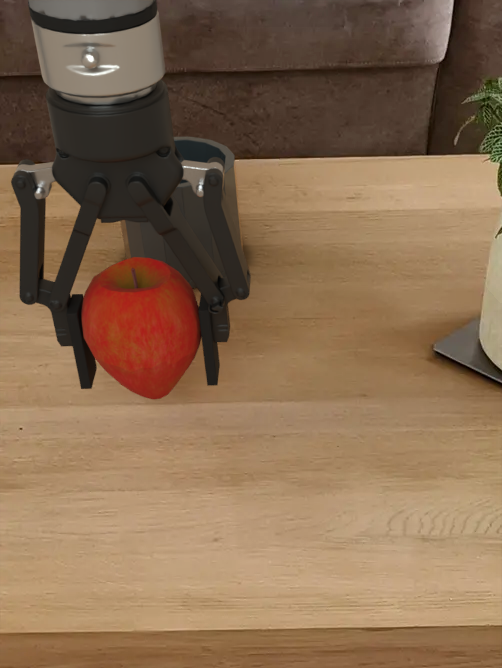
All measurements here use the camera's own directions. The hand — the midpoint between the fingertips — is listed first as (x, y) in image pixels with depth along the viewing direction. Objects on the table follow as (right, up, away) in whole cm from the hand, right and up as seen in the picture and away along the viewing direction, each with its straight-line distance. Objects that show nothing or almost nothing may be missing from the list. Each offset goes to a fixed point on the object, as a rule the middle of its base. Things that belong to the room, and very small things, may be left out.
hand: (151, 376), depth 88 cm
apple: (0, -1, +1) cm, 2 cm away
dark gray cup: (-2, +12, +22) cm, 25 cm away
